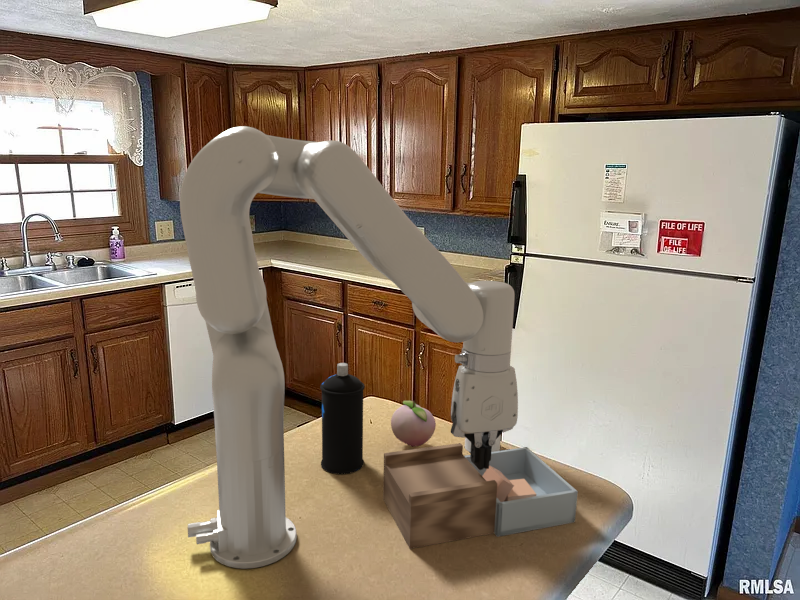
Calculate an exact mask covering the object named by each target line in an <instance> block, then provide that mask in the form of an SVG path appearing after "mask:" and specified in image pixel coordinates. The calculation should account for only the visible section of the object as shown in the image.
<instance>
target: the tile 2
mask: <svg viewBox="0 0 800 600" xmlns="http://www.w3.org/2000/svg"><path fill="white" fill-rule="evenodd" d="M509 481H510V482H511V483H512V484H513V485H514V487H513V488H512V490H511V491H510V493H509V494H508V496H507V497H506V499H505V501H511V500H517V499H523V498H529V497H535V496H536V493H535V492H534V490H533V489H532V488H531V487H530V485H529V484H528V483H527V482H526V480H525V479H516V480H509ZM505 501H504V502H505Z"/></svg>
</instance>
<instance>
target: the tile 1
mask: <svg viewBox="0 0 800 600" xmlns="http://www.w3.org/2000/svg"><path fill="white" fill-rule="evenodd" d="M482 477H483V478H484V479H485V480H486V481H491V480H495V481H496V482H497V498H498V499H499V501H500V502H504V501H505V499H506V497H507V496H508V494H509V493H510V491H511V490H512V488H513V487H514V485H513V484H512V483H511V482H510V481H509V480H508V479H507V478H506V477H505V476H504V475H503V474H502V473H501V472H500V471H499V470H497V469H495V468H493V467H492V466H490V465H489V469H487V470H486V471H485V473H484V474H483V476H482Z"/></svg>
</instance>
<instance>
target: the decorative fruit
mask: <svg viewBox="0 0 800 600" xmlns="http://www.w3.org/2000/svg"><path fill="white" fill-rule="evenodd" d="M402 404H403V405H401V406H400V407H398V408H397V409H396V410H394V412H393V413H392V416H391V419H390V426H391V427H390V428H391V430H392V433H393V435H394V437H395V438H396V439H397V440H399V441H400V442H401V443H404V444H406V445H407V446H410V447H412V448H416V447H419V446H423V445H424V444H425V443H427V442H428V441H429V440H430V439H431V438H432V437H433V435H434V433H435V430H436V427H437V425H436V420H435V417H434V416H433V413H431V411H429V410H428V409H426V408H424V407H421V406H420V405H419V404H417V403H416V402H415V400H413V401H412V400H403V401H402Z"/></svg>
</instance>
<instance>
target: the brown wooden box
mask: <svg viewBox="0 0 800 600" xmlns="http://www.w3.org/2000/svg"><path fill="white" fill-rule="evenodd" d="M463 451H464V445H463V444H462V443H461V442H459V443H451V444H445V445H436V446H430V447H429V446H428V447H419V448H414V449H405V450H398V451H392V452H389V451H388V452H384V453H383V483H382V484H383V487H382V489H383V491H382V492H383V493H382V494H383V495H382V497H383V498H382V500H383V502H384V503H385V505H386V508H387V509H388V511H389V513H390V515H391V518H392V520H394V522H395V525H396V526H397V527H398V530H399V532H400V534H401V535H402V537H403V538H404V541H405V543H406V545H407V546H408V549H410V550H411V549H416V548H423V547H426V546H428V547H429V546H433V545H438V544H443V543H444V544H445V543H448V542H454V541H459V540H463V539H464V540H465V539H469V538H470V539H471V538H475V537H480V536H485V535H486V536H487V535H492V534H495V533H494V529H495V513H496V498H497V482H496V481H495V480H491V481H486V480H485V479H484V478H483V477H482V475H481V474H480V473H479V472H478V471H477V470H476V469H475V468H474V467H473V465H472V464H471V463H470V462H469V461H468V460H467V459H466V458H465V456H466V455H464V454H463Z"/></svg>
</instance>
